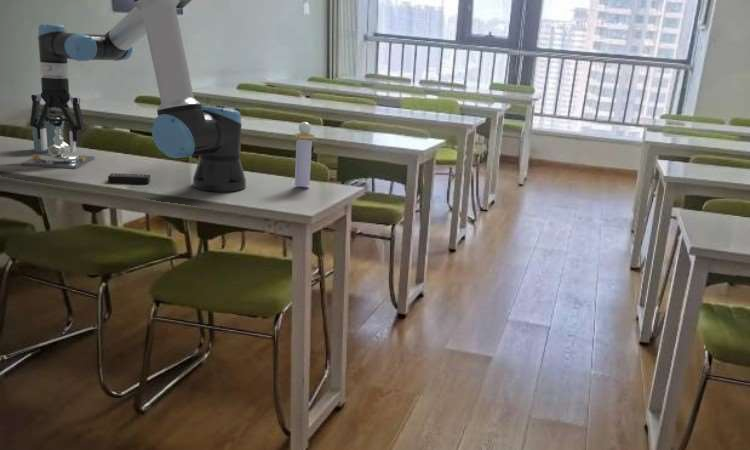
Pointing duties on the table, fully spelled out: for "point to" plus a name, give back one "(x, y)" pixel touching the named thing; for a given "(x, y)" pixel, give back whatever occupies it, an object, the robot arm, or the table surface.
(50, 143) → the blue-grey cup
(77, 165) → the lock plate
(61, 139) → the valve
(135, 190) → the table surface
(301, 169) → the perfume bottle
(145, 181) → the multiport hub
